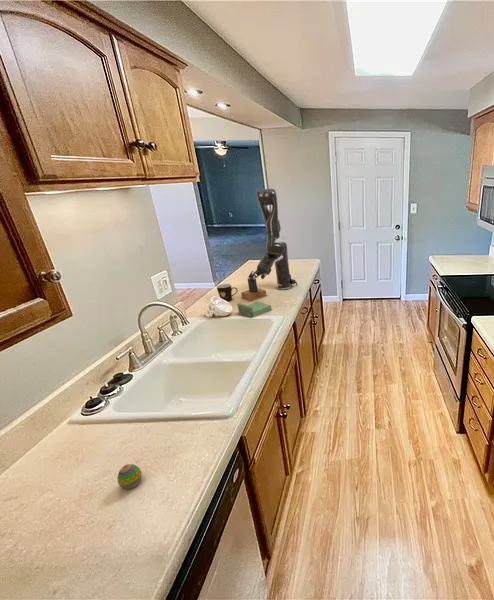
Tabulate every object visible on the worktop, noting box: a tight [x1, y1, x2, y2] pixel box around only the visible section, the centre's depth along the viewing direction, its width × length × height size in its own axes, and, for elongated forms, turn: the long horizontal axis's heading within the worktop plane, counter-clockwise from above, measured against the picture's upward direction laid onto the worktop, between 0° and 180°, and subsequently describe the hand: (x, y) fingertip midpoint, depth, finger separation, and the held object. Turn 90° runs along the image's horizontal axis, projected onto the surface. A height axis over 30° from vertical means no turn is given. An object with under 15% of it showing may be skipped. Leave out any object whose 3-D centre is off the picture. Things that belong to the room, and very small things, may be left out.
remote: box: [247, 277, 258, 292], centre depth 218 cm, size 3×5×9 cm, turn 56°
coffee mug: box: [216, 283, 238, 303], centre depth 213 cm, size 12×9×10 cm
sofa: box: [236, 301, 272, 318], centre depth 196 cm, size 14×12×6 cm
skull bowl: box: [204, 296, 234, 318], centre depth 191 cm, size 10×14×12 cm
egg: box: [117, 463, 143, 490], centre depth 85 cm, size 5×5×6 cm
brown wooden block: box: [240, 287, 267, 302], centre depth 221 cm, size 12×10×4 cm
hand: (256, 279), depth 214 cm, fingers open, 8 cm apart
